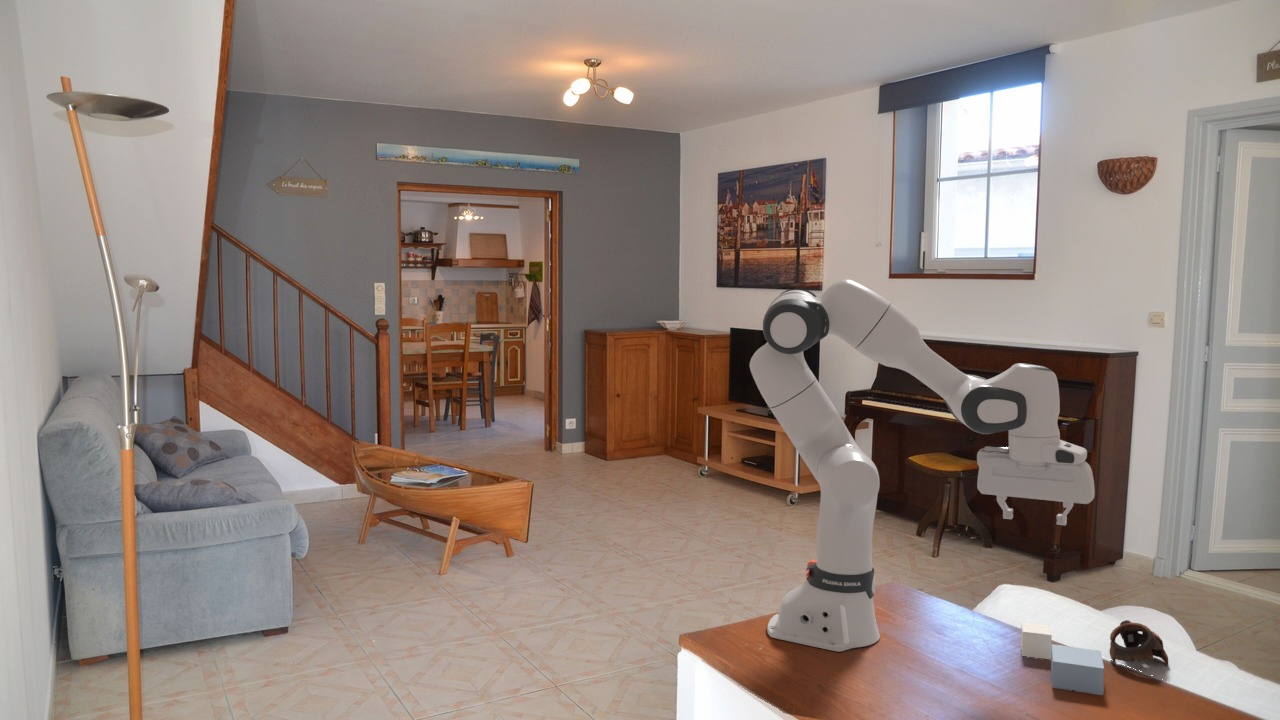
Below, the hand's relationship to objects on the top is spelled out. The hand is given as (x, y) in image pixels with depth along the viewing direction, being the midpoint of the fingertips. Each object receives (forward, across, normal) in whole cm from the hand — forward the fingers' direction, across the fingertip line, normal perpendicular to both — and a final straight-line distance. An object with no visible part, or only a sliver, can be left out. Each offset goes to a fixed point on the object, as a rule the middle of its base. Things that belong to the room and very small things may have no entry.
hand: (1034, 521), depth 165 cm
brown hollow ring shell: (+27, +16, +8) cm, 32 cm away
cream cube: (+26, 0, +1) cm, 26 cm away
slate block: (+26, +8, -8) cm, 29 cm away
